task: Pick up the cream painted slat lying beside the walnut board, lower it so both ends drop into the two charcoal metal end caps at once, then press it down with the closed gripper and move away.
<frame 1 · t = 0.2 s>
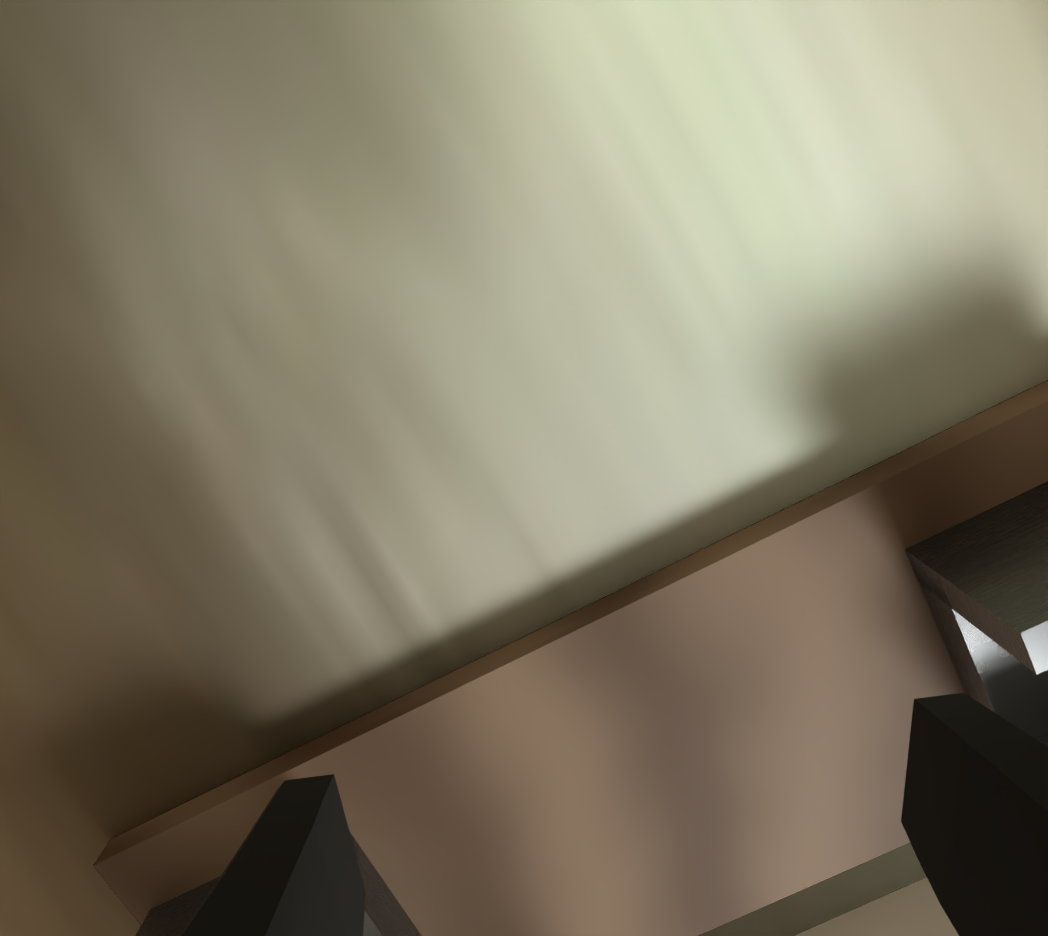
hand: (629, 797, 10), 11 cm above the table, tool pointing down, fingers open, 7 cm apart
frame board: (656, 758, 22), on the table
end caps: (682, 842, 19), on the frame board, point 3 cm above the table
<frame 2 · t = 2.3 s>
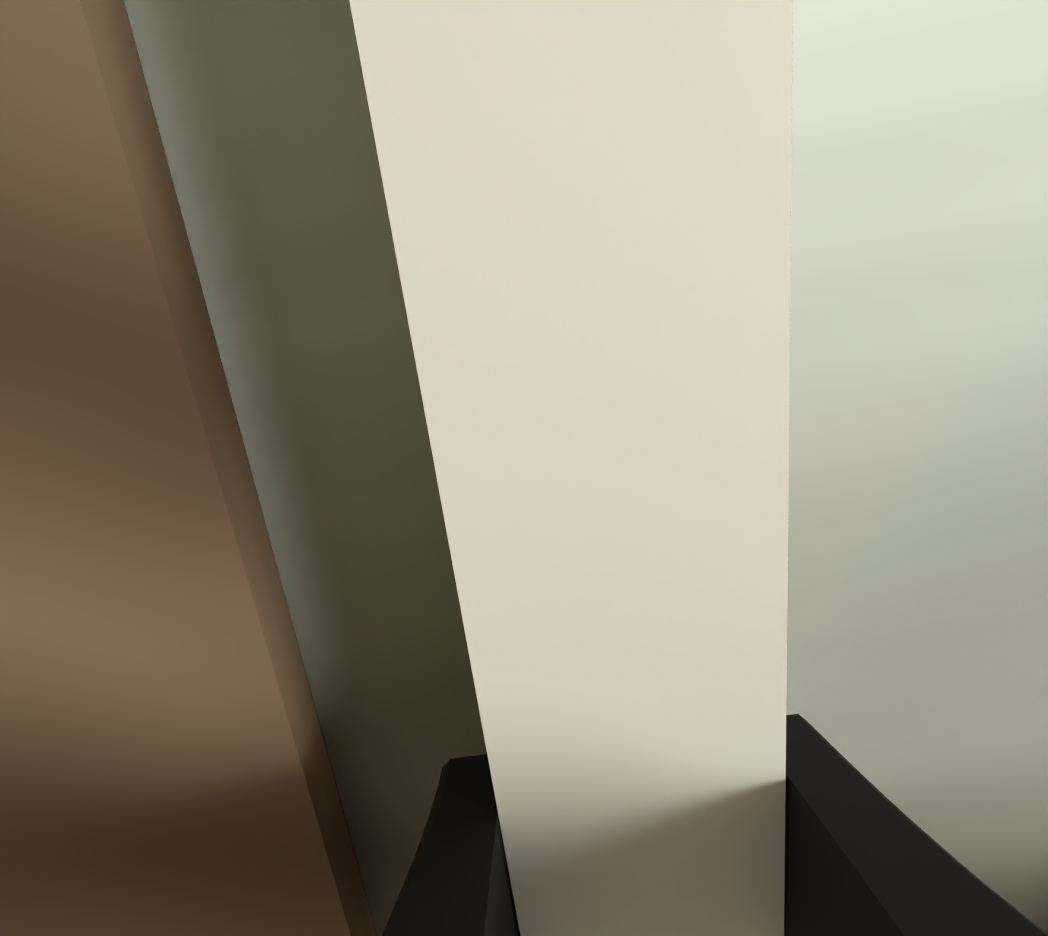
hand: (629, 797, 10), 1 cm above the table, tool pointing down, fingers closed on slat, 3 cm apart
slat: (607, 705, 12), on the table, touching gripper
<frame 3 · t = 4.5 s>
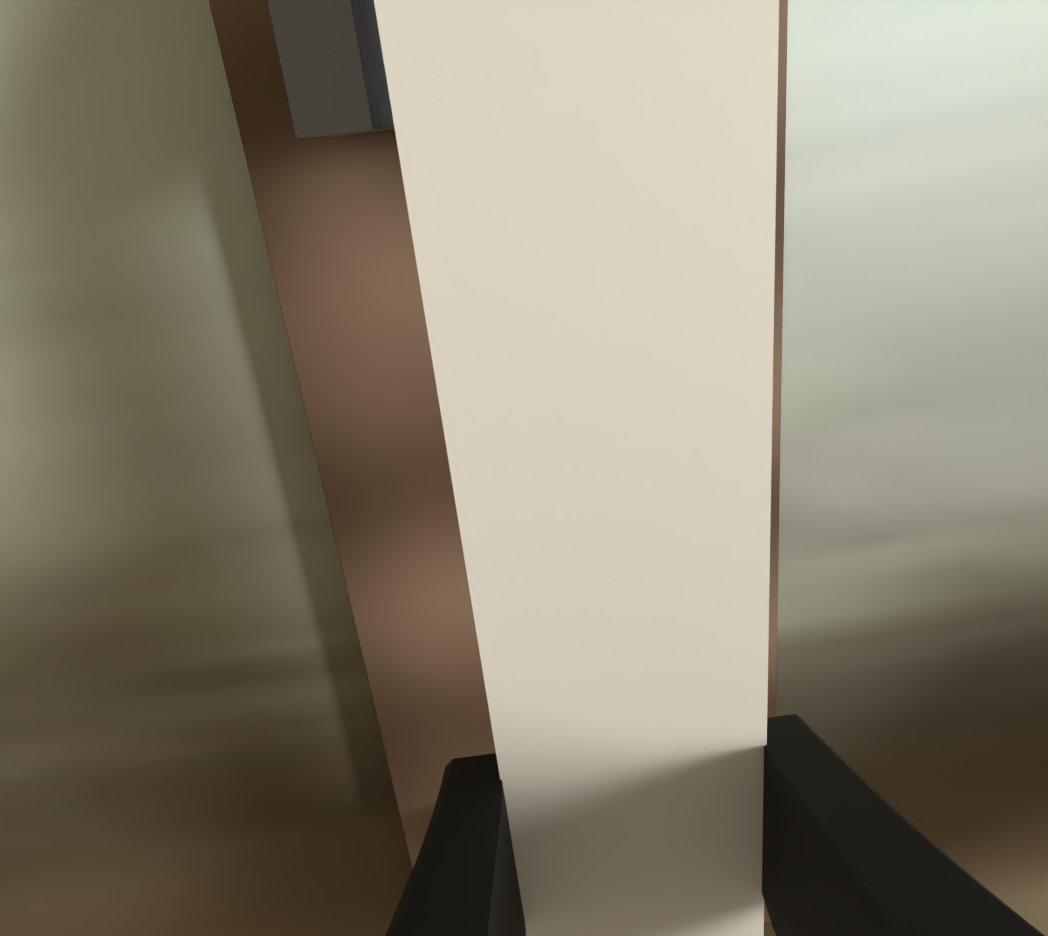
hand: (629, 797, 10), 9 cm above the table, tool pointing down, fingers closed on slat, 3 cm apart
slat: (601, 675, 12), point 7 cm above the table, touching gripper
frame board: (553, 487, 19), on the table
end caps: (568, 555, 16), on the frame board, point 3 cm above the table
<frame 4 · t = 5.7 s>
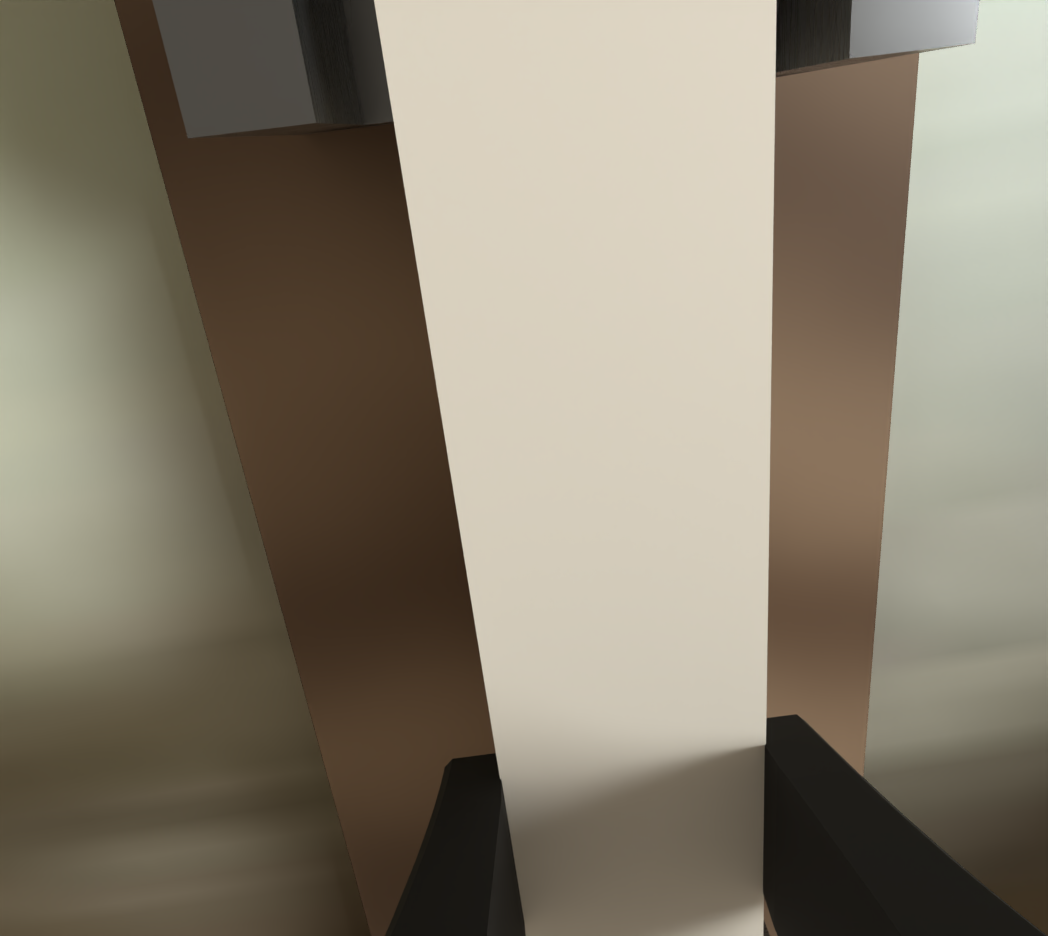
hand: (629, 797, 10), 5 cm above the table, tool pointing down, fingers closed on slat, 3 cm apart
slat: (600, 675, 12), point 3 cm above the table, touching gripper
frame board: (580, 588, 14), on the table
end caps: (608, 708, 11), on the frame board, point 3 cm above the table
when the fingers open (5 cm above the table, at t = 5.7 s): slat stays where it is, resting on end caps.
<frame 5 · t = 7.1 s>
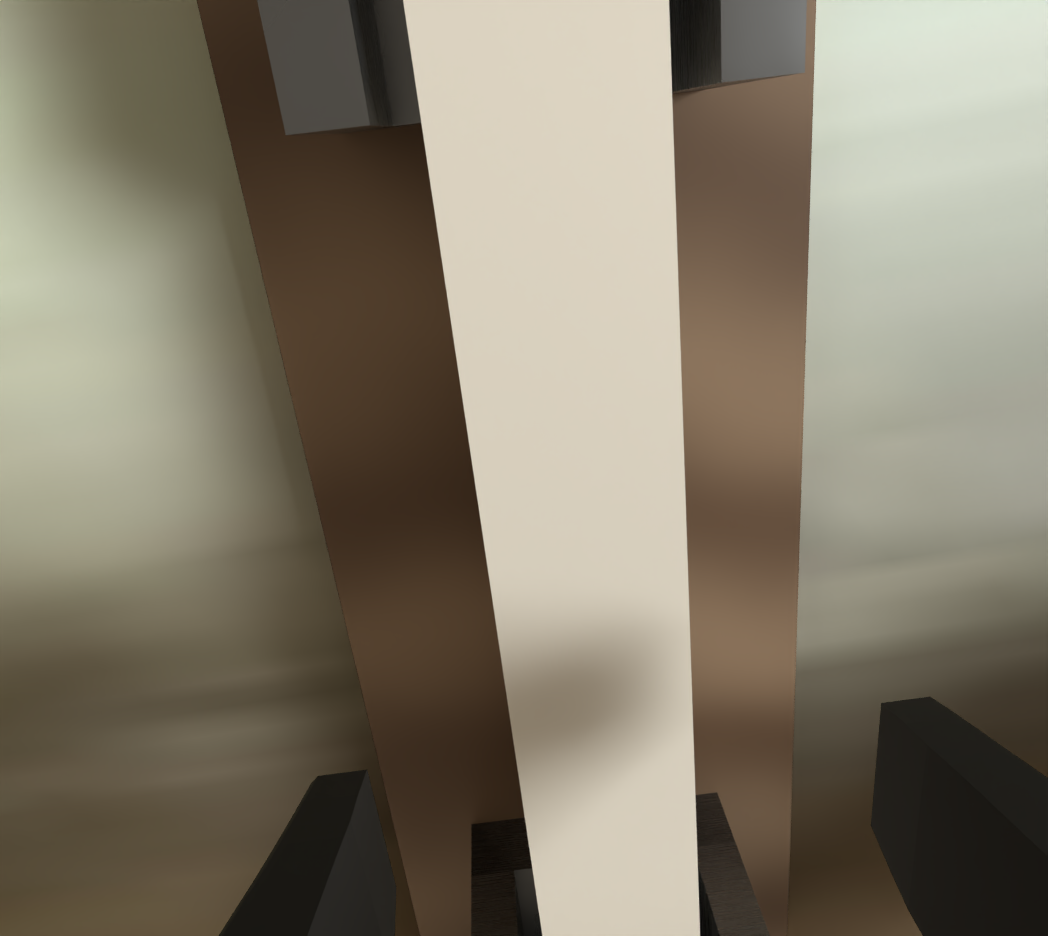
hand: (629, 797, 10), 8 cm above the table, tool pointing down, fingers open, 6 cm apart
slat: (574, 560, 15), point 2 cm above the table, touching end caps
frame board: (561, 505, 18), on the table
end caps: (578, 581, 15), on the frame board, point 3 cm above the table
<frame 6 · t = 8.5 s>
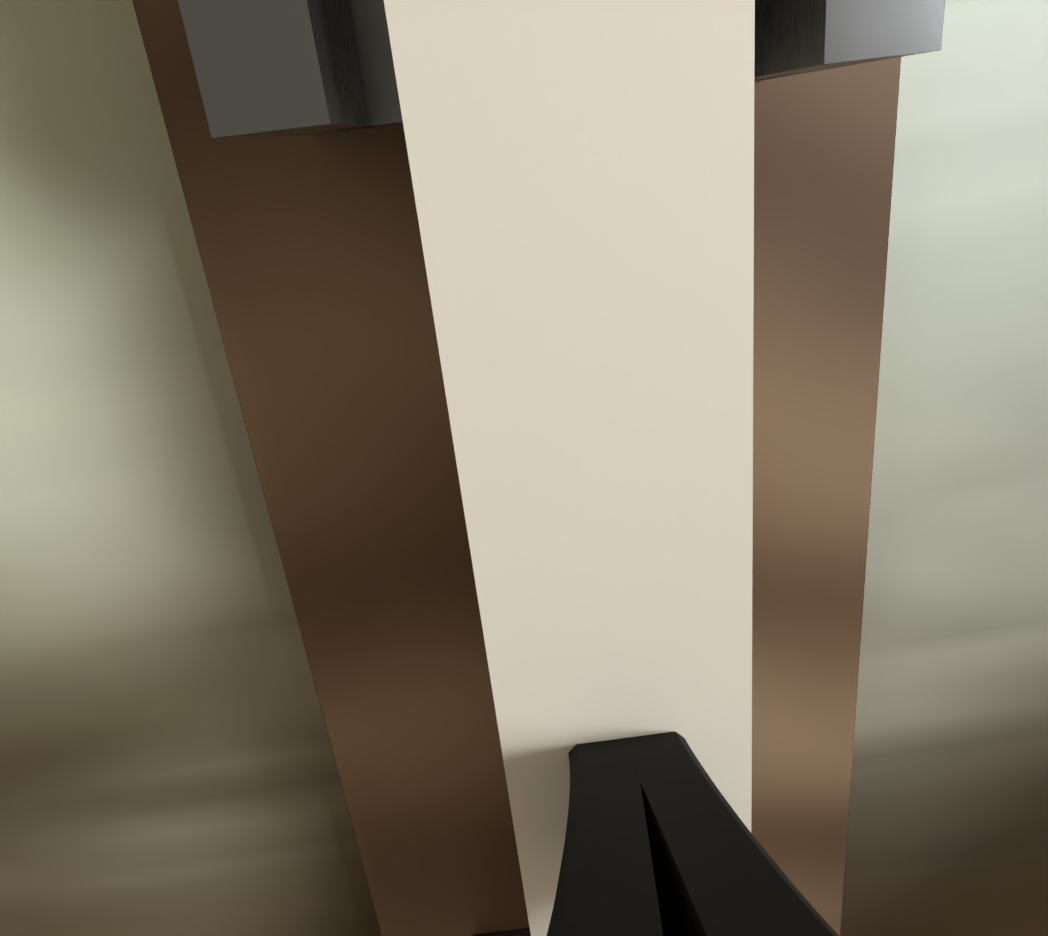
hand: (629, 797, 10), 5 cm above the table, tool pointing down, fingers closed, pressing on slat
slat: (597, 653, 13), point 2 cm above the table, touching end caps, gripper
frame board: (578, 573, 15), on the table
end caps: (604, 685, 12), on the frame board, point 3 cm above the table
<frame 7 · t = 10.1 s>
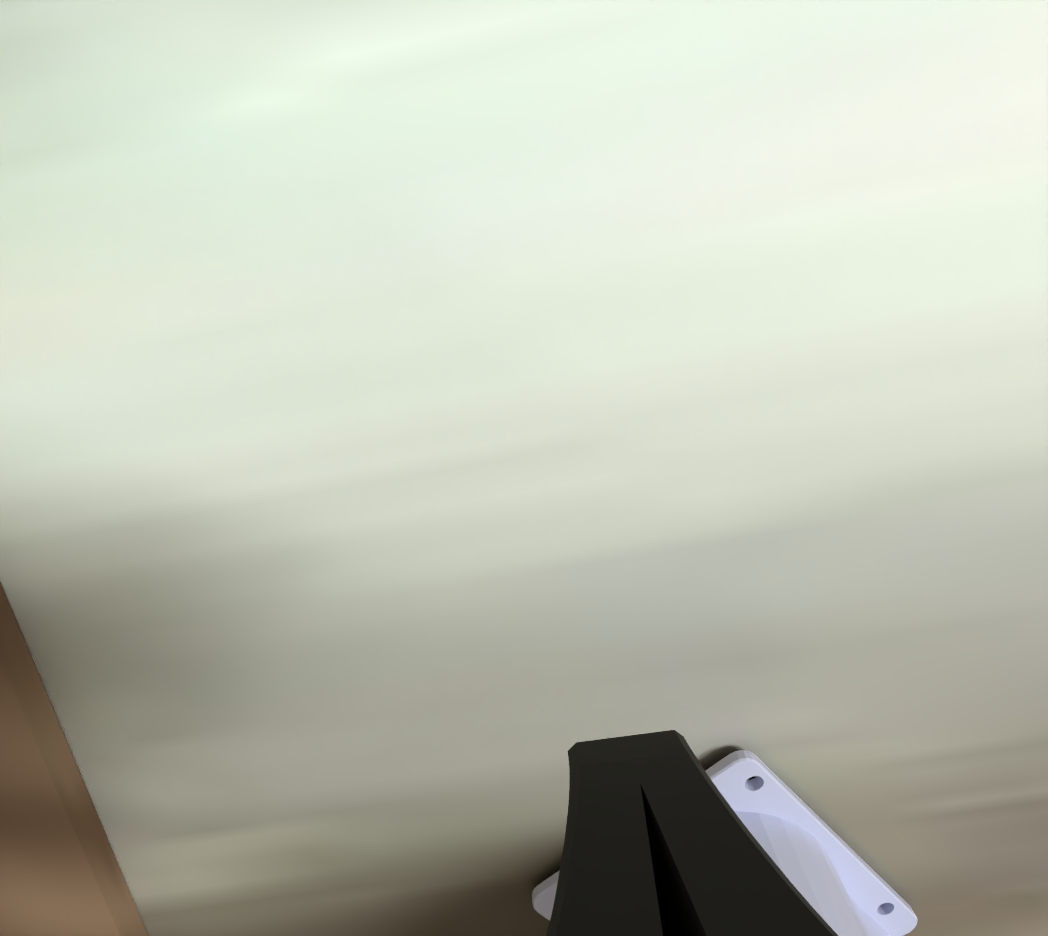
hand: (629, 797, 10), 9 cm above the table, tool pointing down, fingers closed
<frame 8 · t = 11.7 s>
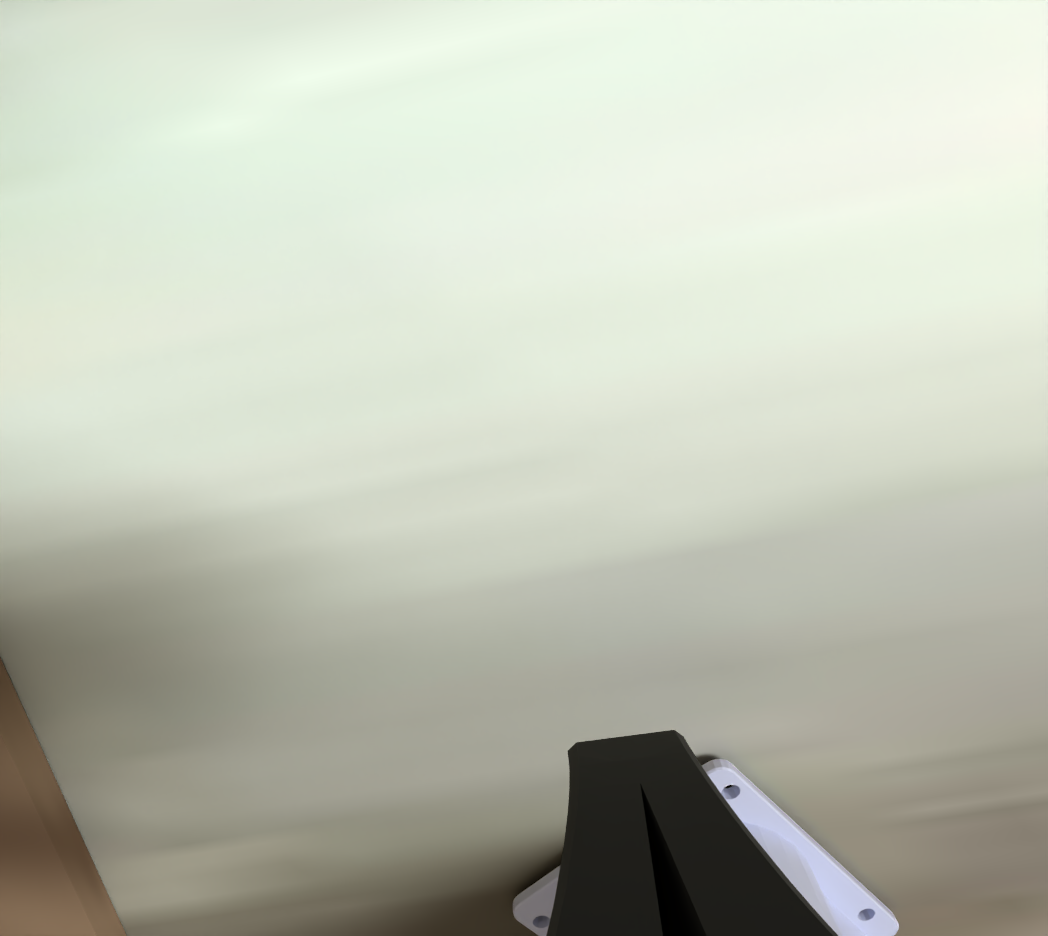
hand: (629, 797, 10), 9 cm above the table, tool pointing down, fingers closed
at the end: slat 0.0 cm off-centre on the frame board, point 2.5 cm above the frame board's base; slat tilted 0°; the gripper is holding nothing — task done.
